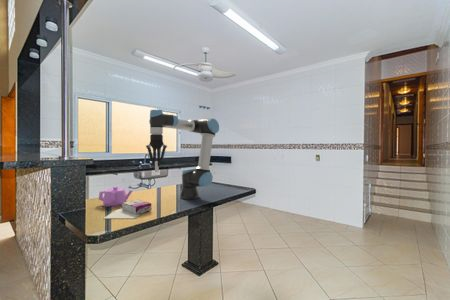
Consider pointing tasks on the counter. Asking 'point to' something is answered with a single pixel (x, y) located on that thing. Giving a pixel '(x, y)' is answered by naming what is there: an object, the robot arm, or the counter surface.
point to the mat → (121, 215)
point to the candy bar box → (136, 206)
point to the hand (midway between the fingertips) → (156, 171)
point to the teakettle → (114, 196)
